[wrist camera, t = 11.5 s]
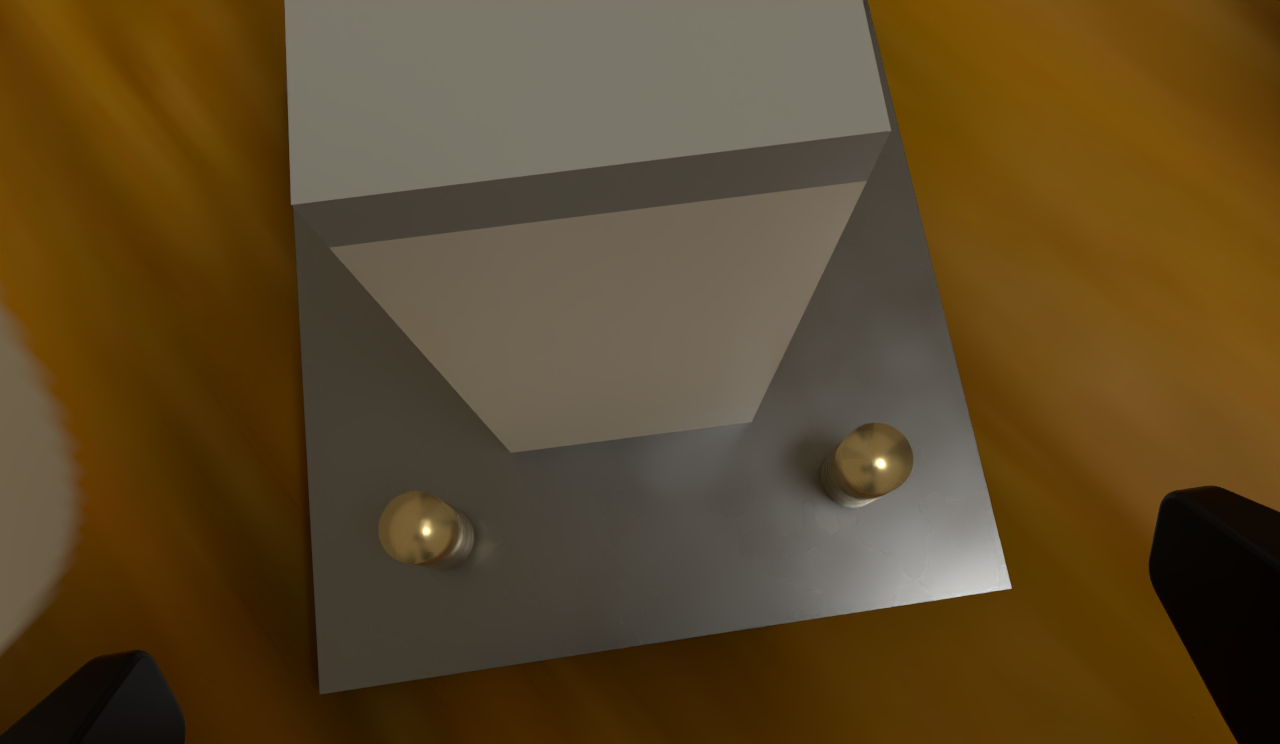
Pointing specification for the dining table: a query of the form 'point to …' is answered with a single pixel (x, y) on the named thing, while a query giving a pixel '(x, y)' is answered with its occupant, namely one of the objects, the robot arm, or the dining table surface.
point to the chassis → (642, 481)
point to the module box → (586, 192)
